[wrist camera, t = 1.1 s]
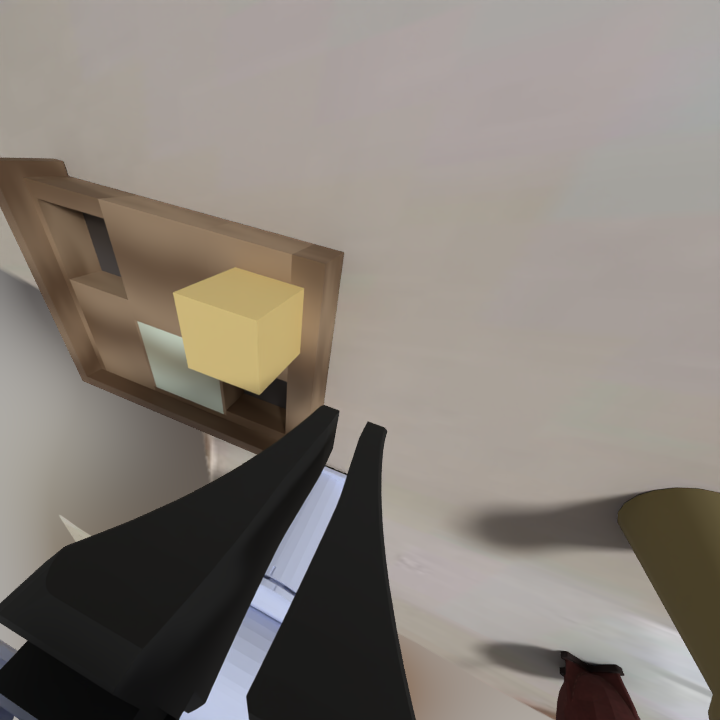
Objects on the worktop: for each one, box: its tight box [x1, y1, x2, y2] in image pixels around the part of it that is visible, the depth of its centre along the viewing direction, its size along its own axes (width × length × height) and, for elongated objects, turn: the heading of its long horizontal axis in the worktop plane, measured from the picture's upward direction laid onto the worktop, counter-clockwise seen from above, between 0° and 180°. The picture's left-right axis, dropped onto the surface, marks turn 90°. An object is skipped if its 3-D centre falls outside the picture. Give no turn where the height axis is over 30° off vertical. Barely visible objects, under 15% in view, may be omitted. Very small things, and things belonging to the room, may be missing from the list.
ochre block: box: [173, 267, 304, 395], centre depth 15 cm, size 4×4×4 cm
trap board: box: [0, 158, 344, 454], centre depth 20 cm, size 16×20×4 cm
